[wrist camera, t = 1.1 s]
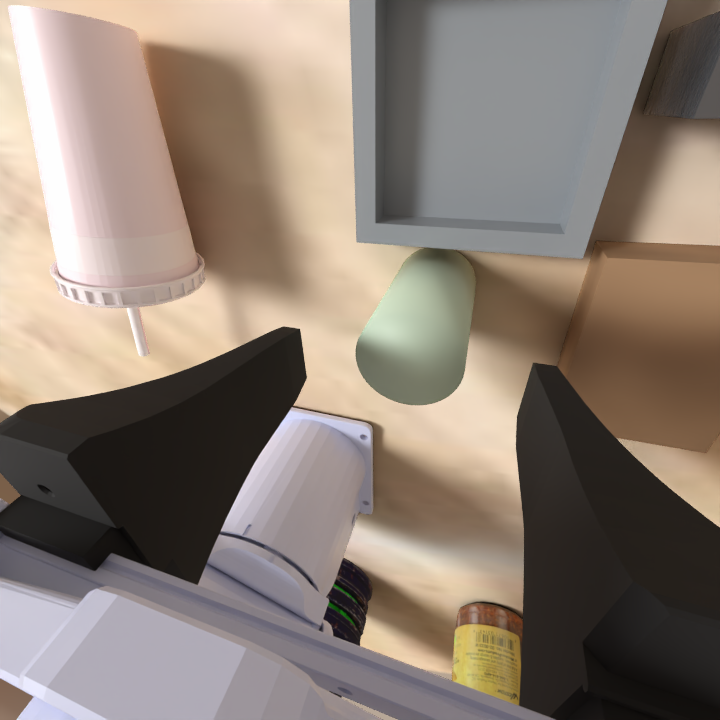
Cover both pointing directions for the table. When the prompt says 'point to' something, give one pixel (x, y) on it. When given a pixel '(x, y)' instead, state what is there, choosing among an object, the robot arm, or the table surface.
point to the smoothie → (103, 165)
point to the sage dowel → (420, 329)
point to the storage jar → (348, 603)
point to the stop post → (689, 73)
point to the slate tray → (491, 118)
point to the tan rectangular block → (649, 342)
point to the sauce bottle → (488, 650)
